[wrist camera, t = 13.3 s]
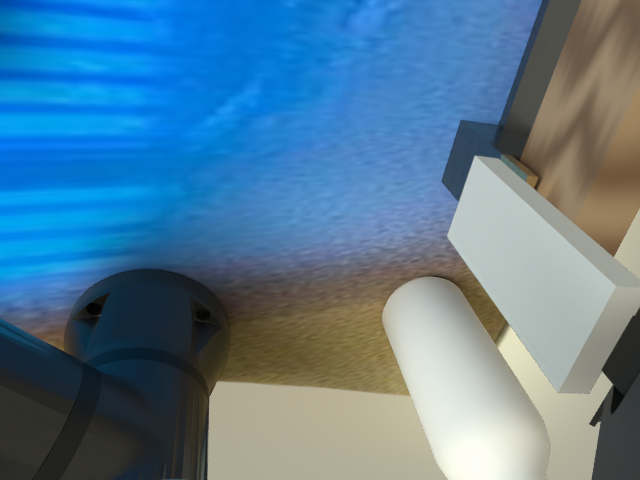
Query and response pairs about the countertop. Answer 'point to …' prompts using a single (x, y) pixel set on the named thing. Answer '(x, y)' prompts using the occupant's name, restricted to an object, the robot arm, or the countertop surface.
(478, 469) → the alcohol
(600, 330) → the robot arm
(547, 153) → the rail
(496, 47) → the countertop surface
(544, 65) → the bracket stand
